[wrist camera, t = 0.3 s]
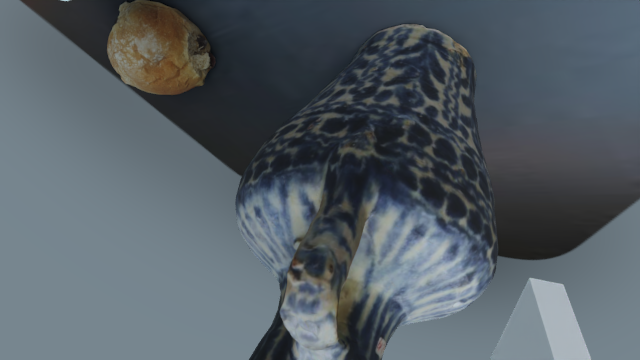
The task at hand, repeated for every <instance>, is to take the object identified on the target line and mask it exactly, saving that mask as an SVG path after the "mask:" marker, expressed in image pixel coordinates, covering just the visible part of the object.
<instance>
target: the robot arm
mask: <svg viewBox="0 0 640 360" xmlns="http://www.w3.org/2000/svg"><path fill="white" fill-rule="evenodd" d="M490 360H591V358H590V355H589V352H588V349H587V347H586V344H585V341H584V339H583V336H582V333H581V331H580V328H579V325H578V323H577V320H576V317H575V315H574V312H573V309H572V307H571V304H570V301H569V299H568V296H567V293H566V290H565V288H564V285H563V284H558V283H553V282H548V281H543V280H538V279H533V278H529V280H528V282H527V284H526V286H525V288H524V290H523V292H522V294H521V296H520V299H519V300H518V303H517V305H516V307H515V309H514V311H513V313H512V315H511V317H510V319H509V321H508V323H507V325H506V327H505V329H504V332H503V333H502V336H501V338H500V340H499V342H498V344H497V346H496V348H495V350H494V352H493V354H492V356H491V358H490Z"/></svg>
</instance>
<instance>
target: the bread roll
mask: <svg viewBox="0 0 640 360" xmlns="http://www.w3.org/2000/svg"><path fill="white" fill-rule="evenodd" d="M119 11H120V13H119V16H118V18H117V19H116V21H115V25H114V26H113V28H112V30H111V32H110V35H109V38H108V44H107V53H108V56H109V59H110V61H111V64H112V66H113V68H114V69H115V71H116V72H117V73H118V74H120V75H121V79H122V80H123V81H124V82H125V83H126V84H129V85H132V86H135V87H136V88H138V89H140V90H143V91H146V92H149V93H154V94H160V95H164V94H165V95H176V94H181V93H183V92H185V91H189V90H190V89H191V88H194V87H196V86H202V85H203V84H204V82H205V77H206V75H207V73H208V71H209V70H210V69H212V68H213V67H214V65H215V57H214V56H213V55H212V53H210V44H209V43H208V41H207V39H206V37H205V36H204V35H203V34H202V33H201V31H200V30H199V28H198V27H197V26H196V25H195V24H194V23H193V22H191V21H190V20H189V19H188V18H186V17H185V16H184V15H183V14H182V13H181V12H180V11H178V10H177V9H175V8H171V7H168V6H166V5H164V4H162V3H159V2H153V1H147V0H135V1H133V2H131V3H129V2H127V1H126V2H124V3H123V4H121V5H120V7H119Z"/></svg>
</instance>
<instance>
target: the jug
mask: <svg viewBox="0 0 640 360" xmlns="http://www.w3.org/2000/svg"><path fill="white" fill-rule="evenodd" d="M476 76H477V75H476V71H475V67H474V64H473V61H472V58H471V57H470V55H469V54H468V52H467V50H466V49H465V48H464V47H462V46H461V45H459V44H458V43H456V42H455V41H454V40H453V39H452V38H451V37H449V36H447V35H445V34H443V33H442V32H440V31H438V30H435V29H428V28H426V27H424V26H423V25H417V24H403V25H399V26H395V27H391V28H387V29H384V30H382V31H379V32H377V33H376V34H374V35H373V36H372V37H371V38H370V39H369V40H368V41H366V42H365V43H364V44H363V45H362V47H361V48H360V49H359V51H358V53H357V54H356V55H355V56H354V58H353V59H352V61H351V63H350V64H349V65H348V66H347V67H346V68H345V69H344V70H343V71H342V72H341V73H340V74H339V75H338V76H337V77H336V78H335V79H334V80H333V81H332V82H331V83H329V84H328V85H327V86H326V87H325V88H324V89H323V90H322V91H321V92H320V93H319V94H318V95H317V96H316V97H315V98H314V99H313V100H312V101H311V102H310V103H309V104H308V105H307V106H306V107H305V108H303V109H302V110H300V111H299V112H298V113H296V114H295V115H294V116H292V117H291V118H290V119H288V120H287V121H286V122H285V123H284V124H283V125H282V126H281V127H280V128H279V129H278V130H277V131H276V132H275V133H274V134H273V135H272V136H271V137H270V138H269V139H268V140H267V141H266V142H265V143H264V145H263V146H262V147H261V149H260V150H259V151H258V153H257V154H256V155H255V157H254V158H253V160H252V161H251V163H250V164H249V166H248V167H247V169H246V170H245V172H244V174H243V176H242V178H241V181H240V185H239V188H238V192H237V196H236V216H237V224H238V227H239V230H240V232H241V234H242V236H243V238H244V240H245V241H246V243H247V245H248V247H249V248H250V249H251V251H252V252H253V254H254V255H255V256H256V257H257V258H258V259H259V260H260V262H261V263H262V264H263V265H264V266H265V267H266V268H267V269H268V270H269V271H270V272H271V273H272V274H273V275H274V276H275V277H276V278H277V280H278V281H279V283H280V290H281V296H280V301H279V306H278V311H277V313H276V316H275V318H274V320H273V323H272V325H271V327H270V328H269V330H268V331H267V333H266V334H265V335H264V337H263V338H262V340H261V341H260V343H259V344H258V346H257V347H256V349H255V351H254V352H253V354H252V356H251V357H250V359H249V360H382V356H383V353H384V350H385V347H386V345H387V343H388V341H389V339H390V338H391V336H392V335H393V333H394V332H395V330H396V329H397V327H398V326H401V325H407V324H412V323H416V322H421V321H426V320H433V319H439V318H442V317H446V316H449V315H451V314H454V313H456V312H459V311H460V310H462V309H464V308H466V307H467V306H469V305H470V304H471V303H472V302H473V301H474V300H476V299H477V298H478V297H479V296H480V295H481V294H482V293H483V292H484V291H485V290H486V288H487V287H488V285H489V284H490V282H491V280H492V279H493V277H494V273H495V270H496V263H497V255H498V243H497V231H496V222H495V213H494V196H493V191H492V186H491V181H490V177H489V174H488V170H487V166H486V162H485V159H484V156H483V153H482V148H481V143H480V138H479V133H478V125H477V118H476V112H475V106H474V94H475V87H476Z"/></svg>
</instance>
